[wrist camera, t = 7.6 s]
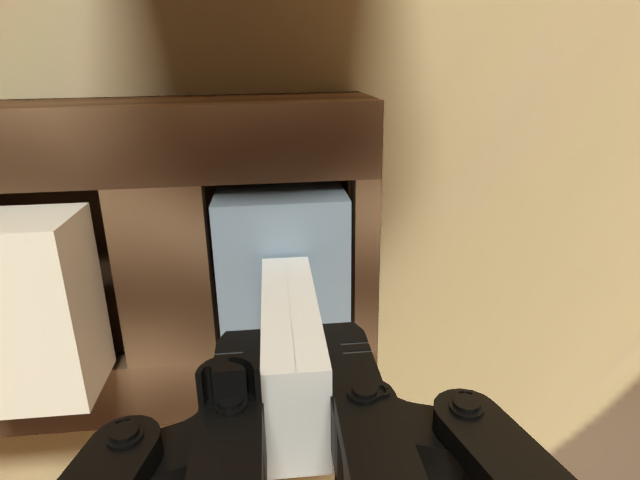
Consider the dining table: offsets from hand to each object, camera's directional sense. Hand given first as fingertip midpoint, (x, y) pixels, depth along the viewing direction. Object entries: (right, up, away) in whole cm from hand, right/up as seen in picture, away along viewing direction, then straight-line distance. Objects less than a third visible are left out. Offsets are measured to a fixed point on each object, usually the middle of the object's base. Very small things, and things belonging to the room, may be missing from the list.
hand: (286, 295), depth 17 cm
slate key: (0, +1, +3) cm, 3 cm away
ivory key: (-9, 0, +1) cm, 9 cm away
